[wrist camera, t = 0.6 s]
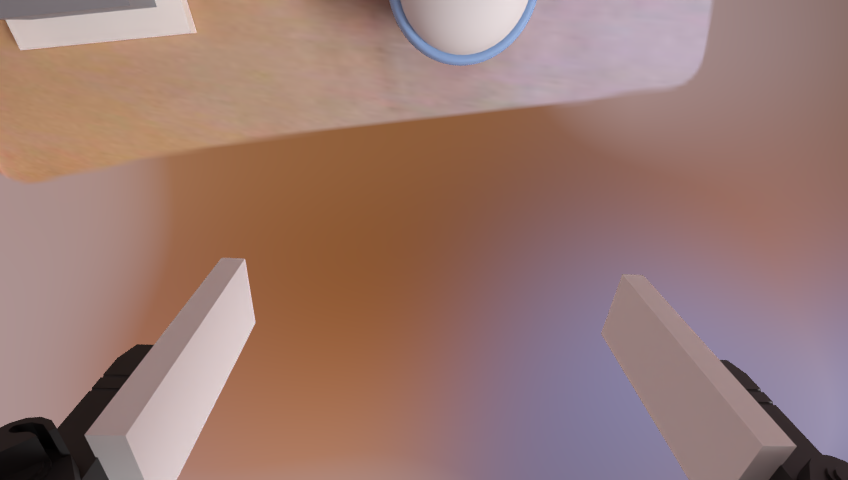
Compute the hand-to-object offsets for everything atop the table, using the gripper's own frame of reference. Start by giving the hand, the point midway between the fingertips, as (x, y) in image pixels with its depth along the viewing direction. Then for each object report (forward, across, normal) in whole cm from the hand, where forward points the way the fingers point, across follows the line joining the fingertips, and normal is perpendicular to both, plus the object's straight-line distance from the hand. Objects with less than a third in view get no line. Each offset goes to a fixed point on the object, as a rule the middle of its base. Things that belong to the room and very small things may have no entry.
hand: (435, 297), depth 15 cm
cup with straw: (+27, +2, +10) cm, 29 cm away
